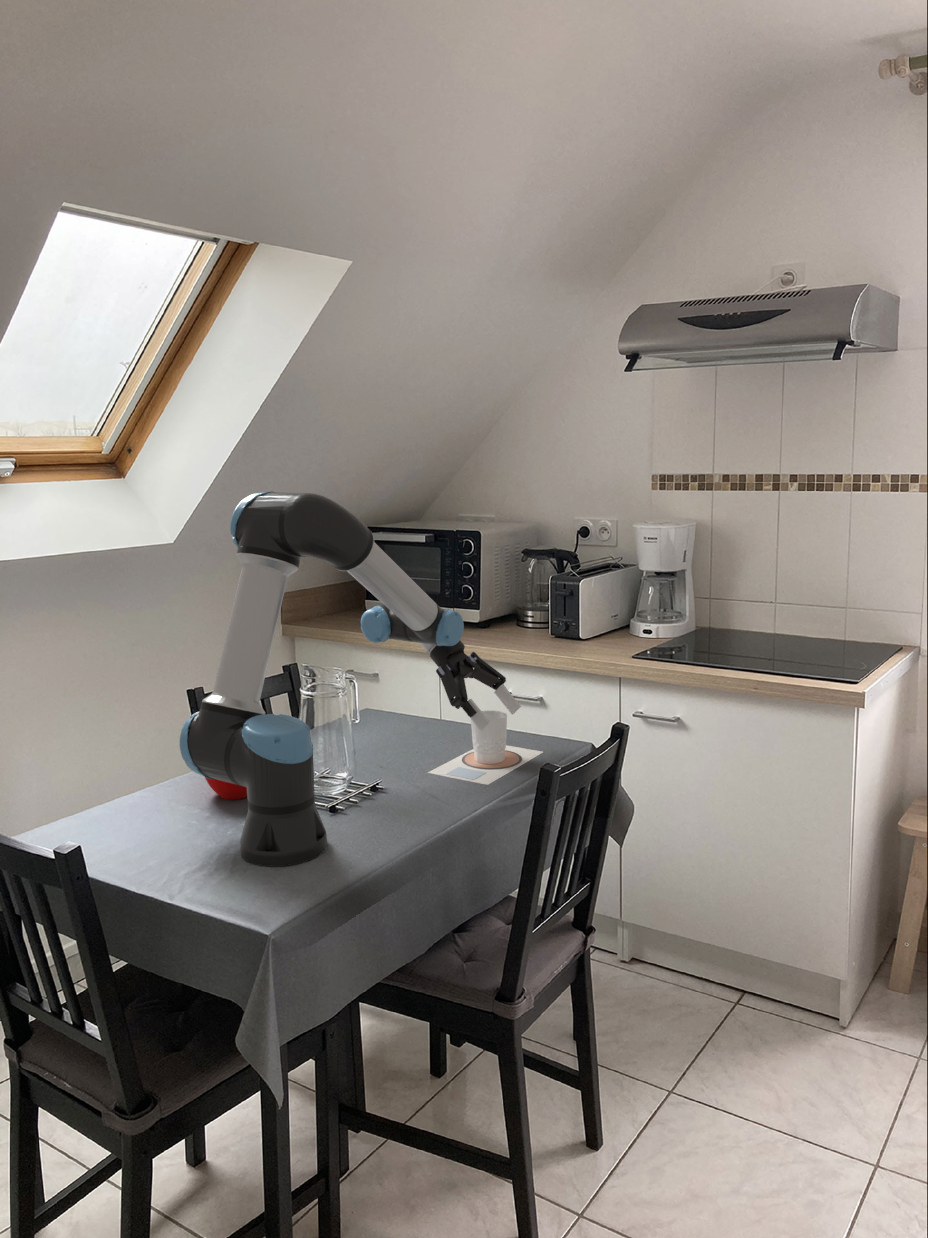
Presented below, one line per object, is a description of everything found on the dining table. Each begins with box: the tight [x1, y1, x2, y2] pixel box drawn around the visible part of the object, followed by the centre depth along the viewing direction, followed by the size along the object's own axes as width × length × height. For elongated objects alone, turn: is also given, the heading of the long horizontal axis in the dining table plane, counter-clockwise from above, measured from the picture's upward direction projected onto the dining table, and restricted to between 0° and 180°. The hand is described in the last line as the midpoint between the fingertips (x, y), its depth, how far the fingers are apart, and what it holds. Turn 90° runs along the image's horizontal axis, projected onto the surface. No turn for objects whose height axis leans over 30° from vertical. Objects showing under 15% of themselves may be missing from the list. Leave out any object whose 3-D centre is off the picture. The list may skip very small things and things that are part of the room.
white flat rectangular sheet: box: [427, 744, 544, 786], centre depth 221 cm, size 24×15×1 cm, turn 147°
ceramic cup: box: [204, 777, 247, 800], centre depth 208 cm, size 13×17×10 cm
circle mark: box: [462, 750, 522, 770], centre depth 223 cm, size 13×13×1 cm
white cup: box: [470, 710, 508, 764], centre depth 222 cm, size 8×8×10 cm
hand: (501, 718), depth 220 cm, fingers open, 13 cm apart
